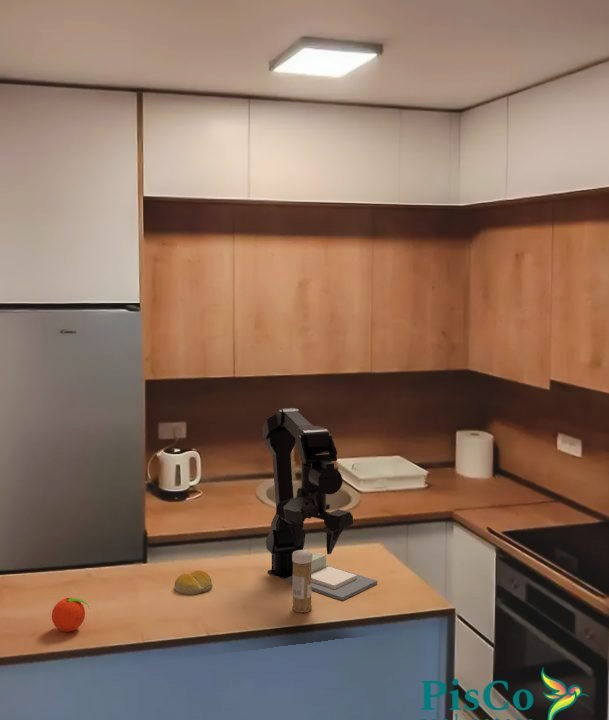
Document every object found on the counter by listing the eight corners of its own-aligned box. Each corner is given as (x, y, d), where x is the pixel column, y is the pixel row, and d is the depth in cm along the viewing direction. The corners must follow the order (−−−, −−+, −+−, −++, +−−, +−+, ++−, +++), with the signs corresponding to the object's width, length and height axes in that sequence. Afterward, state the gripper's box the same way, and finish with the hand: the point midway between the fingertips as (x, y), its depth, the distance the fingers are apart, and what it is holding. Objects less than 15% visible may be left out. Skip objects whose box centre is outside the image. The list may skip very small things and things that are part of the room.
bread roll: (169, 587, 198) (169, 571, 198) (203, 580, 203) (203, 564, 202) (182, 598, 191) (182, 582, 191) (217, 591, 196) (217, 575, 195)
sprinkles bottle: (315, 610, 184) (316, 553, 183) (298, 615, 182) (299, 557, 180) (304, 603, 188) (305, 547, 187) (288, 608, 186) (288, 551, 184)
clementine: (92, 621, 178) (91, 590, 177) (89, 635, 171) (88, 603, 170) (54, 624, 176) (53, 592, 176) (49, 638, 169) (48, 605, 169)
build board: (285, 581, 202) (285, 562, 201) (321, 566, 212) (321, 548, 212) (342, 600, 190) (342, 581, 189) (377, 583, 200) (377, 565, 200)
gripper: (260, 483, 185) (260, 549, 186) (324, 497, 173) (323, 568, 174) (291, 474, 193) (291, 537, 195) (354, 487, 181) (354, 555, 183)
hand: (313, 549), depth 186 cm, fingers open, 9 cm apart
